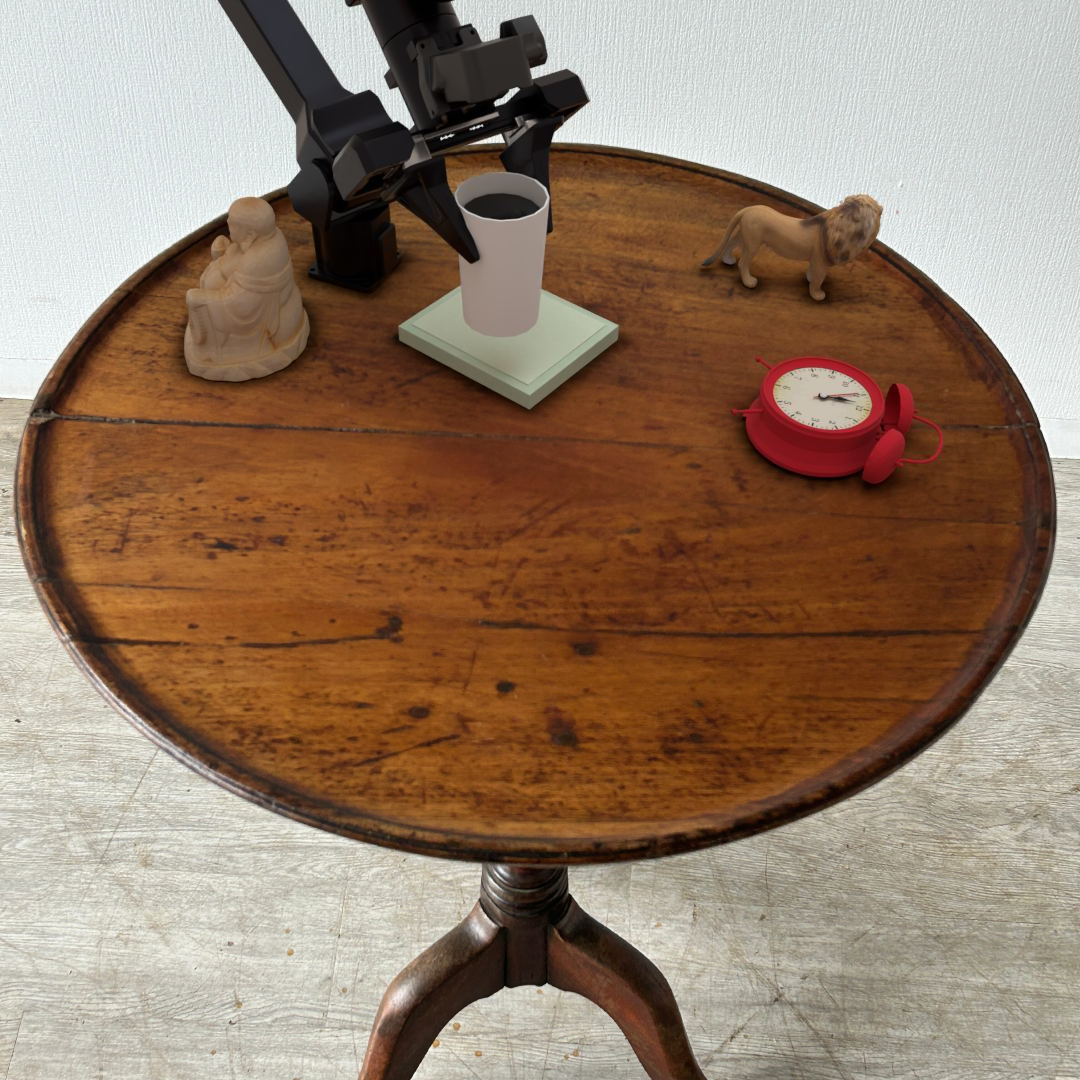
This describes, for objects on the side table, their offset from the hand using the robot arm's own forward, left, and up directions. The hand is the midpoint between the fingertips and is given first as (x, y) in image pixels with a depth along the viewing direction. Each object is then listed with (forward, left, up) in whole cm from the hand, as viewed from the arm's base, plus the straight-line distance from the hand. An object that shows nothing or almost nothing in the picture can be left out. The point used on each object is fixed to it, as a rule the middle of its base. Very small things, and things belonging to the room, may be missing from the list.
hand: (512, 247), depth 80 cm
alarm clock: (+25, +5, -13) cm, 29 cm away
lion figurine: (+16, +25, -13) cm, 33 cm away
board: (-3, +6, -13) cm, 15 cm away
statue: (-23, -3, -13) cm, 27 cm away
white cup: (-1, +1, -7) cm, 7 cm away
